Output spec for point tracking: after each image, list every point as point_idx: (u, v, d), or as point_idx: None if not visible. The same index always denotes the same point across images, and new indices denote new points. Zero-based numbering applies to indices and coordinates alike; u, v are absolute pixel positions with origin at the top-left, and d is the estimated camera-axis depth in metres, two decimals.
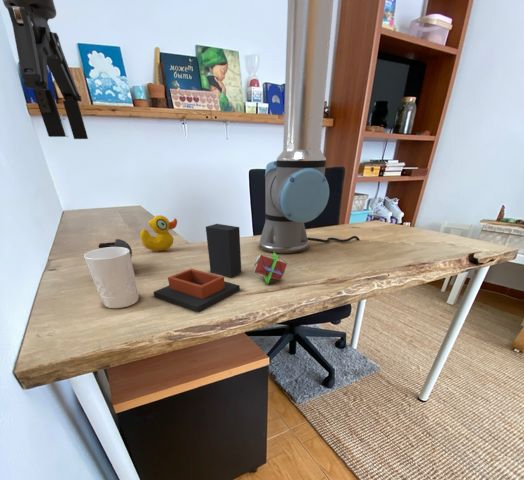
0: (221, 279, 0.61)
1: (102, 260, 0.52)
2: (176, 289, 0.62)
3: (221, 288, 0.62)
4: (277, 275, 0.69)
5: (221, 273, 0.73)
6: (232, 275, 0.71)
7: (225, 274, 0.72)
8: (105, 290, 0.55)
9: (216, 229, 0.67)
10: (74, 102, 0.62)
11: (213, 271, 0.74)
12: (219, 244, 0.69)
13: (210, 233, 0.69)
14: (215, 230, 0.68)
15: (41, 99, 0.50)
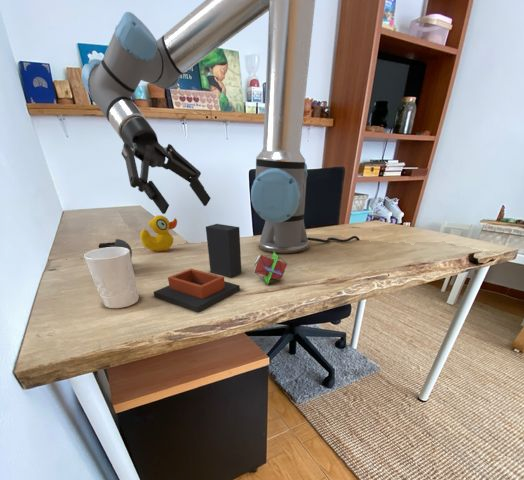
0: (221, 279, 0.61)
1: (102, 260, 0.52)
2: (176, 289, 0.62)
3: (221, 288, 0.62)
4: (277, 275, 0.69)
5: (221, 273, 0.73)
6: (232, 275, 0.71)
7: (225, 274, 0.72)
8: (105, 290, 0.55)
9: (216, 229, 0.67)
10: (193, 179, 0.74)
11: (213, 271, 0.74)
12: (219, 244, 0.69)
13: (210, 233, 0.69)
14: (215, 230, 0.68)
15: (146, 191, 0.65)
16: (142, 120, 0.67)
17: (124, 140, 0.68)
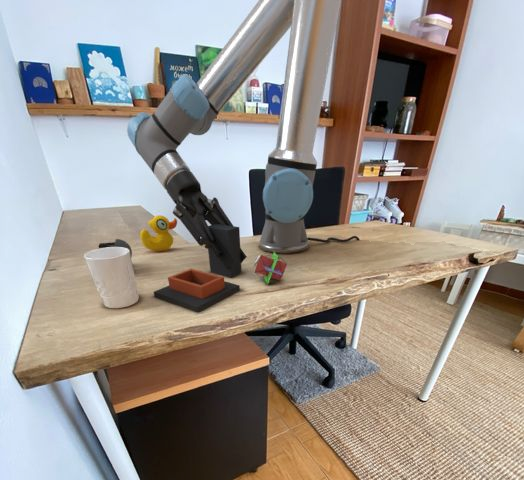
0: (221, 279, 0.61)
1: (102, 260, 0.52)
2: (176, 289, 0.62)
3: (221, 288, 0.62)
4: (277, 275, 0.69)
5: (221, 273, 0.73)
6: (232, 275, 0.71)
7: (225, 274, 0.72)
8: (105, 290, 0.55)
9: (216, 229, 0.67)
10: None
11: (213, 271, 0.74)
12: None
13: None
14: (215, 230, 0.68)
15: (213, 249, 0.68)
16: (188, 172, 0.67)
17: (169, 192, 0.68)
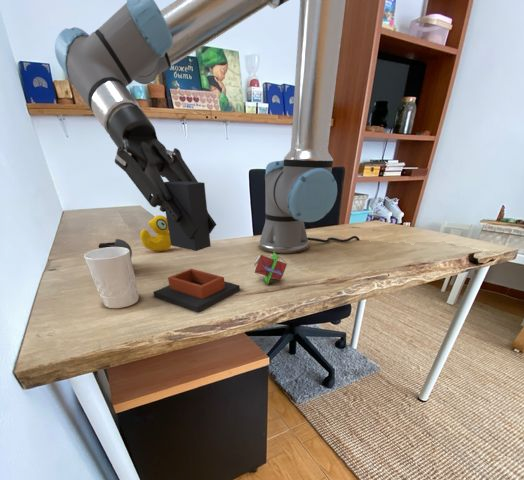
0: (221, 279, 0.61)
1: (102, 260, 0.52)
2: (176, 289, 0.62)
3: (221, 288, 0.62)
4: (277, 275, 0.69)
5: (184, 246, 0.56)
6: (197, 248, 0.55)
7: (188, 247, 0.56)
8: (105, 290, 0.55)
9: (173, 184, 0.51)
10: None
11: (174, 244, 0.58)
12: None
13: None
14: (172, 187, 0.51)
15: (170, 212, 0.52)
16: (136, 109, 0.50)
17: (112, 136, 0.51)
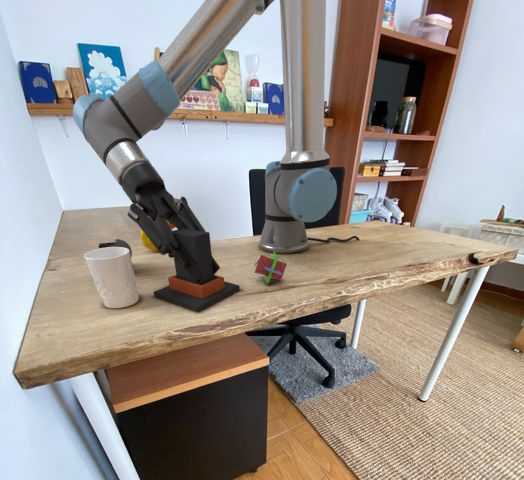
0: (221, 279, 0.61)
1: (102, 260, 0.52)
2: (176, 289, 0.62)
3: (221, 288, 0.62)
4: (277, 275, 0.69)
5: None
6: None
7: None
8: (105, 290, 0.55)
9: (181, 235, 0.55)
10: None
11: None
12: None
13: None
14: (179, 236, 0.56)
15: (178, 259, 0.56)
16: (147, 166, 0.55)
17: (125, 190, 0.56)
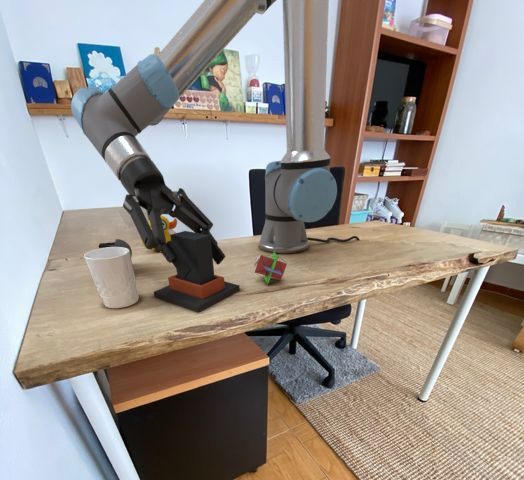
0: (221, 279, 0.61)
1: (102, 260, 0.52)
2: (176, 289, 0.62)
3: (221, 288, 0.62)
4: (277, 275, 0.69)
5: None
6: None
7: None
8: (105, 290, 0.55)
9: (182, 238, 0.56)
10: (204, 233, 0.61)
11: None
12: (187, 256, 0.57)
13: (176, 243, 0.57)
14: (180, 239, 0.56)
15: (164, 253, 0.54)
16: (146, 160, 0.55)
17: (124, 184, 0.56)
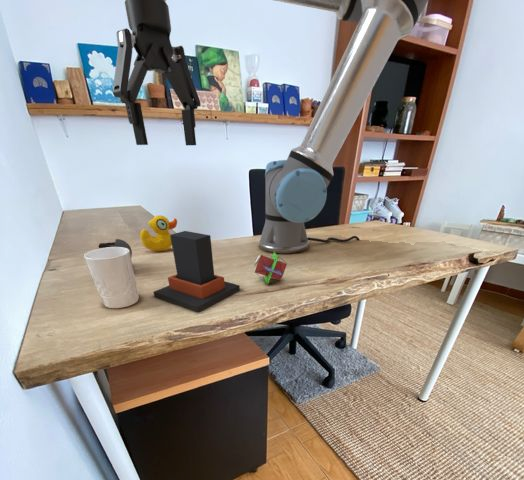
0: (221, 279, 0.61)
1: (102, 260, 0.52)
2: (176, 289, 0.62)
3: (221, 288, 0.62)
4: (277, 275, 0.69)
5: None
6: None
7: None
8: (105, 290, 0.55)
9: (182, 238, 0.56)
10: (188, 110, 0.65)
11: None
12: (187, 256, 0.57)
13: (176, 243, 0.57)
14: (180, 239, 0.56)
15: (129, 112, 0.56)
16: (161, 5, 0.51)
17: (127, 9, 0.51)
